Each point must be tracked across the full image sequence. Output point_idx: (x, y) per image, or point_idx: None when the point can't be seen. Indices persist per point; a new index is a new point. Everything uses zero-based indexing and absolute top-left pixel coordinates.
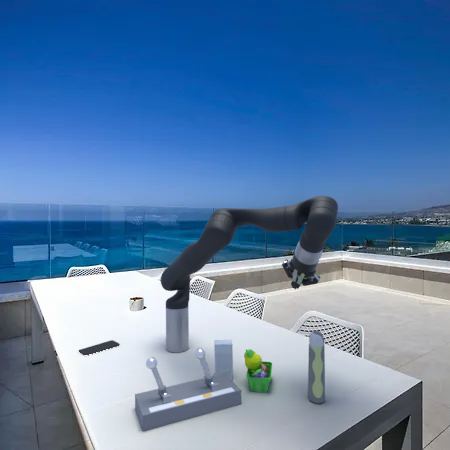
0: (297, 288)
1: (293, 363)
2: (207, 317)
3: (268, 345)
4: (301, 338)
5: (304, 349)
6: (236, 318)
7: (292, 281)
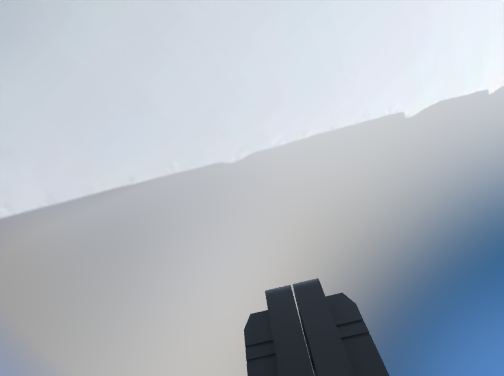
0: (254, 317)
1: (80, 4)
2: (434, 35)
3: (236, 44)
4: (184, 160)
5: (132, 122)
6: (370, 93)
7: (372, 362)
